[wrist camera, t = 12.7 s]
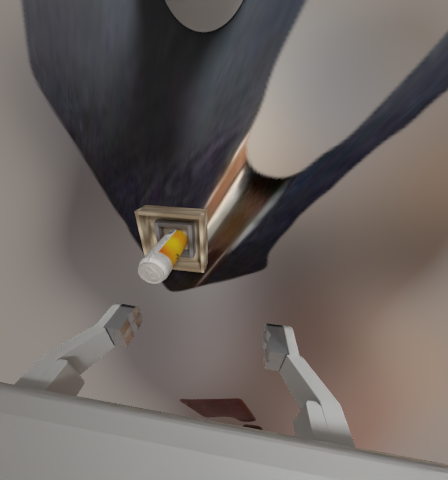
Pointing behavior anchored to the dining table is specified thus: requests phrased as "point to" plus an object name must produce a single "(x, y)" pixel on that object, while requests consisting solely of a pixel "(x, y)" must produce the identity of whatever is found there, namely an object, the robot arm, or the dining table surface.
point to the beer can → (162, 257)
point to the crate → (184, 219)
